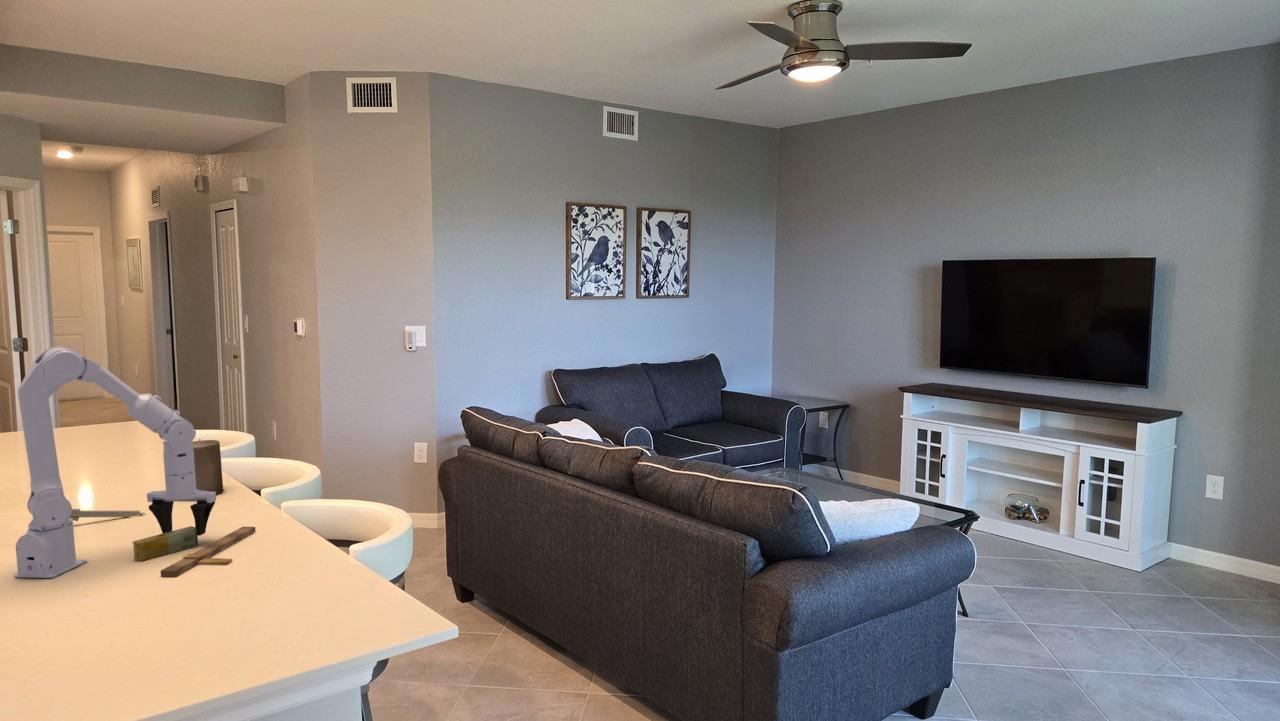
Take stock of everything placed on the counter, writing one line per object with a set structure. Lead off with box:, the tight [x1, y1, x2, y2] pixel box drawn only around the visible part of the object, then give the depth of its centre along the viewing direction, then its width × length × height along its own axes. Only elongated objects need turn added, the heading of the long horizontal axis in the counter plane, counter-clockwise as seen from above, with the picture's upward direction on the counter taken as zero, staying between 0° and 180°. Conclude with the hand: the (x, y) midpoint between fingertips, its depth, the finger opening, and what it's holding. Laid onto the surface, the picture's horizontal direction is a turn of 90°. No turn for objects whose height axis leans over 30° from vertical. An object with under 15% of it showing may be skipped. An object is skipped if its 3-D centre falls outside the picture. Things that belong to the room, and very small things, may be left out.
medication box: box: [132, 526, 199, 562], centre depth 174 cm, size 12×3×4 cm, turn 145°
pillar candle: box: [192, 438, 225, 496], centre depth 221 cm, size 10×10×15 cm
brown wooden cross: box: [160, 526, 256, 578], centre depth 174 cm, size 28×9×2 cm, turn 175°
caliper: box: [70, 508, 146, 522], centre depth 197 cm, size 20×1×6 cm, turn 128°
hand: (184, 534), depth 181 cm, fingers open, 7 cm apart
